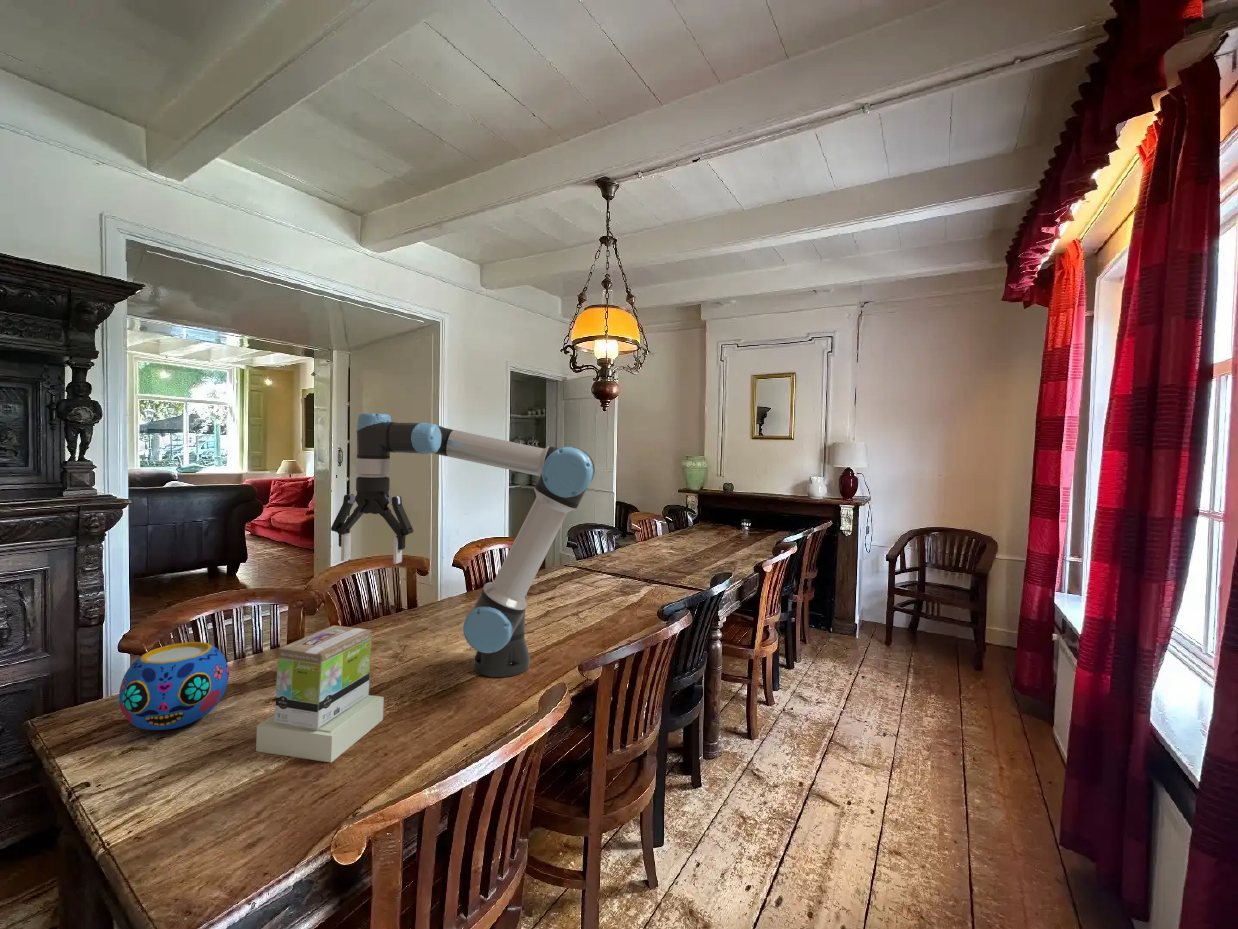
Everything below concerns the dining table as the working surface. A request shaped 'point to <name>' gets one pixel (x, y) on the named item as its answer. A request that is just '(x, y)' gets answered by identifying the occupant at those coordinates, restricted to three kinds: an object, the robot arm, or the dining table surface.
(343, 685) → the tea box
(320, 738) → the block
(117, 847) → the dining table surface
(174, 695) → the ceramic pot
